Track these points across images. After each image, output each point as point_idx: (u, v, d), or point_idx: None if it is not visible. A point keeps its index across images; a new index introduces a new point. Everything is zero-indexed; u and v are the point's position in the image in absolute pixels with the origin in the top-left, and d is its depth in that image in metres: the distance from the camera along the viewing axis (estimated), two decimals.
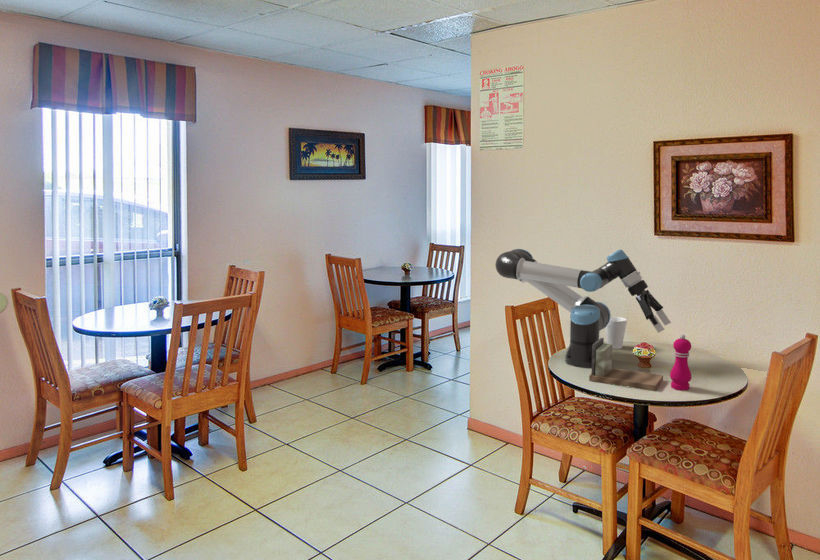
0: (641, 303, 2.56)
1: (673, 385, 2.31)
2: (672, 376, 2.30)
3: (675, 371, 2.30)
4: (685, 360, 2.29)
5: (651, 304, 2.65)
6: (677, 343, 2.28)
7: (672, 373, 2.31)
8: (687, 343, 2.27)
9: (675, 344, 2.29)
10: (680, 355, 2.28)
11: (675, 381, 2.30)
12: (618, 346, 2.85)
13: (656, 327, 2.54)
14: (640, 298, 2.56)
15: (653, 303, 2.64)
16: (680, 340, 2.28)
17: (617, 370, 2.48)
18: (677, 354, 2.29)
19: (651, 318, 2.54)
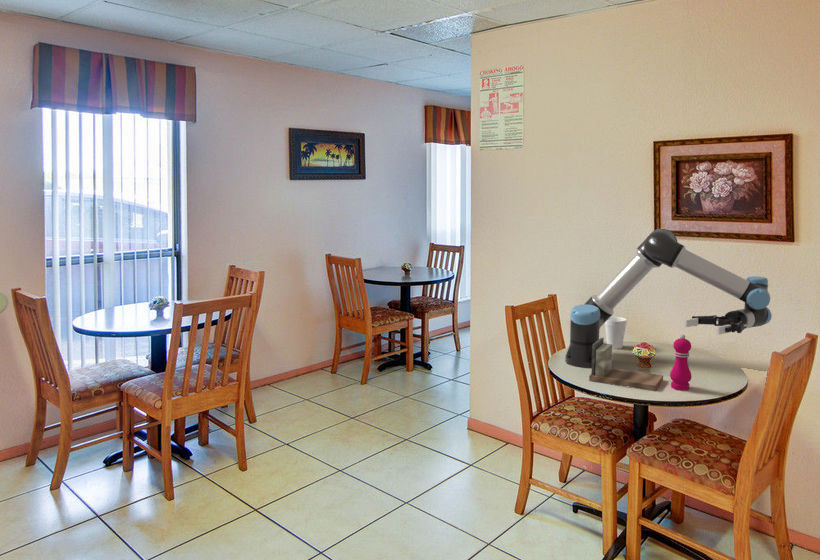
0: (743, 325, 2.33)
1: (673, 385, 2.31)
2: (672, 376, 2.30)
3: (675, 371, 2.30)
4: (685, 360, 2.29)
5: (710, 320, 2.42)
6: (677, 343, 2.28)
7: (672, 373, 2.31)
8: (687, 343, 2.27)
9: (675, 344, 2.29)
10: (680, 355, 2.28)
11: (675, 381, 2.30)
12: (618, 346, 2.85)
13: (723, 328, 2.28)
14: (745, 326, 2.34)
15: (709, 322, 2.42)
16: (680, 340, 2.28)
17: (617, 370, 2.48)
18: (677, 354, 2.29)
19: (733, 329, 2.29)
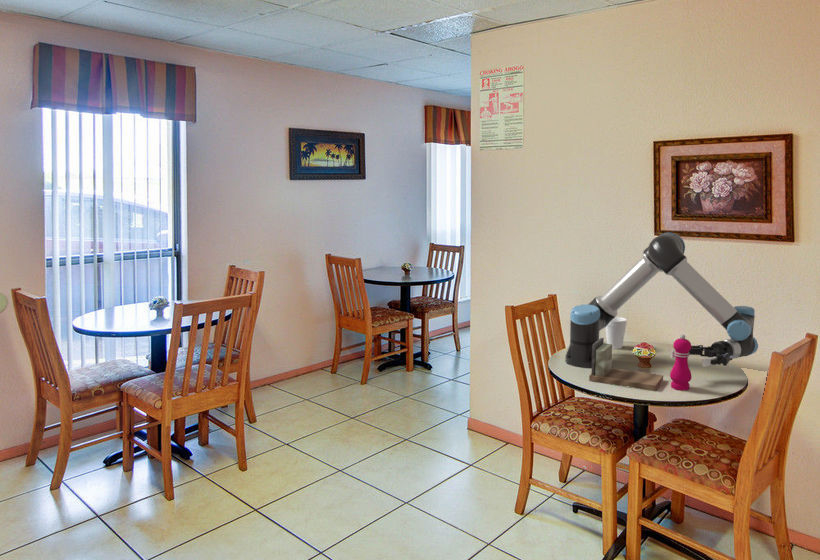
0: (729, 357, 2.31)
1: (673, 385, 2.31)
2: (672, 376, 2.30)
3: (675, 371, 2.30)
4: (685, 360, 2.29)
5: (696, 351, 2.39)
6: (677, 343, 2.28)
7: (672, 373, 2.31)
8: (687, 343, 2.27)
9: (675, 344, 2.29)
10: (680, 355, 2.28)
11: (675, 381, 2.30)
12: (618, 346, 2.85)
13: (708, 360, 2.26)
14: (731, 358, 2.32)
15: (695, 353, 2.40)
16: (680, 340, 2.28)
17: (617, 370, 2.48)
18: (677, 354, 2.29)
19: (719, 361, 2.27)
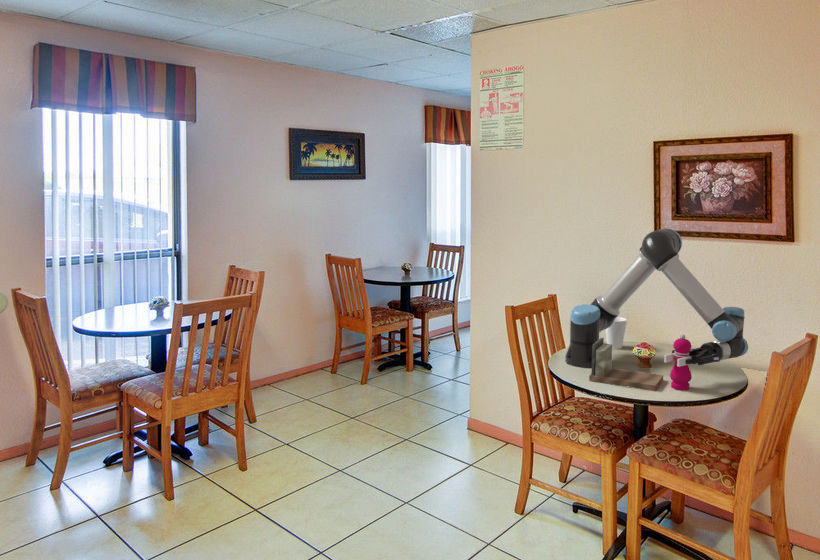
0: (711, 358, 2.29)
1: (673, 385, 2.31)
2: (672, 376, 2.30)
3: (675, 371, 2.30)
4: None
5: None
6: (677, 343, 2.28)
7: (672, 373, 2.31)
8: (687, 343, 2.27)
9: (675, 344, 2.29)
10: (680, 355, 2.28)
11: (675, 381, 2.30)
12: (618, 346, 2.85)
13: (683, 360, 2.26)
14: (715, 359, 2.30)
15: (688, 356, 2.35)
16: (680, 340, 2.28)
17: (617, 370, 2.48)
18: (677, 354, 2.29)
19: (693, 361, 2.27)
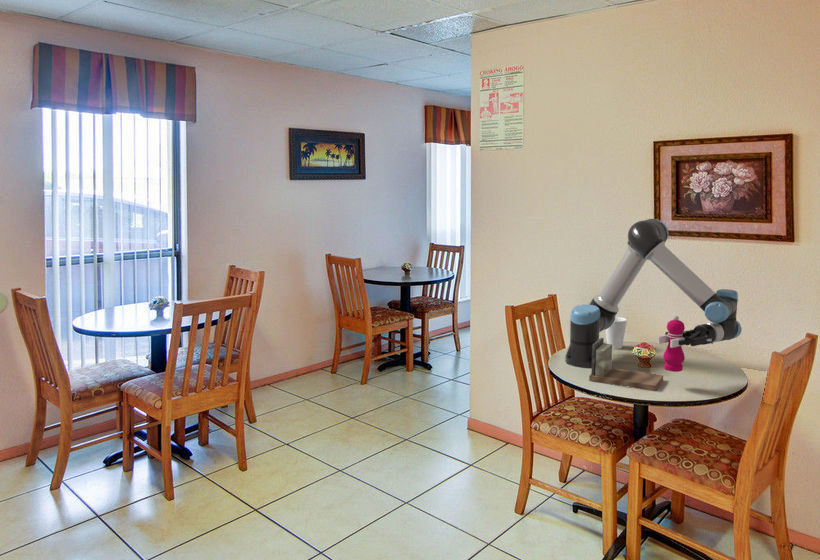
0: (704, 340, 2.29)
1: (666, 366, 2.31)
2: (665, 358, 2.30)
3: (668, 352, 2.30)
4: None
5: (682, 335, 2.35)
6: (670, 324, 2.28)
7: (665, 354, 2.31)
8: (680, 324, 2.27)
9: (668, 325, 2.29)
10: (673, 336, 2.28)
11: (669, 363, 2.30)
12: (618, 346, 2.85)
13: (676, 341, 2.26)
14: (708, 341, 2.30)
15: (681, 338, 2.35)
16: (674, 321, 2.28)
17: (617, 370, 2.48)
18: (670, 335, 2.29)
19: (687, 342, 2.27)
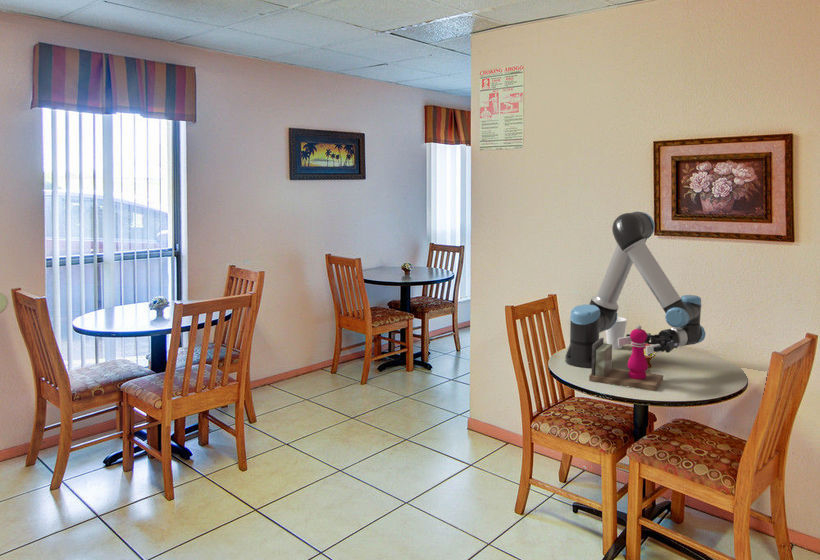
0: (673, 345, 2.35)
1: (630, 374, 2.38)
2: (629, 366, 2.37)
3: (631, 360, 2.37)
4: (641, 350, 2.36)
5: None
6: (633, 333, 2.35)
7: (629, 363, 2.38)
8: (643, 333, 2.34)
9: (631, 334, 2.36)
10: (636, 345, 2.35)
11: (632, 371, 2.37)
12: (618, 346, 2.85)
13: (651, 347, 2.30)
14: (675, 345, 2.37)
15: None
16: (636, 330, 2.35)
17: (617, 370, 2.48)
18: (633, 344, 2.36)
19: (662, 348, 2.31)
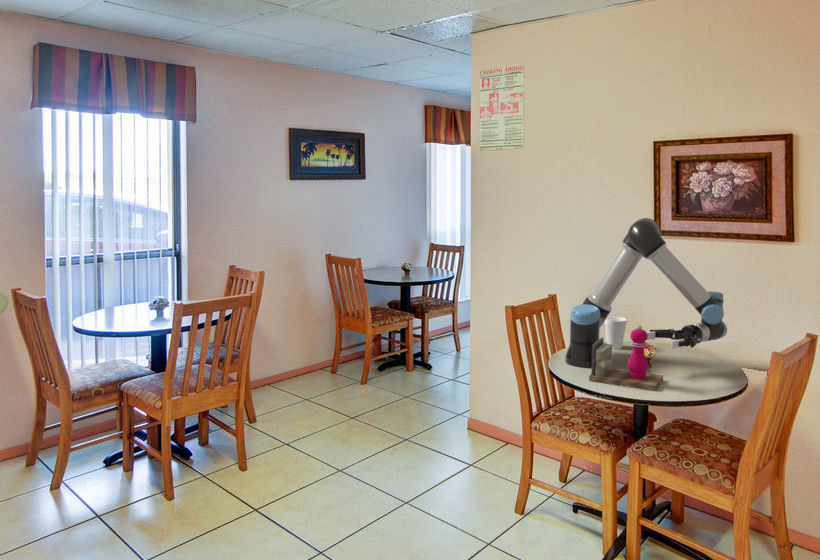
0: (697, 340, 2.41)
1: (630, 374, 2.38)
2: (629, 366, 2.37)
3: (631, 361, 2.37)
4: (641, 350, 2.35)
5: (666, 334, 2.50)
6: (634, 333, 2.35)
7: (629, 363, 2.38)
8: (643, 333, 2.34)
9: (632, 334, 2.36)
10: (636, 345, 2.35)
11: (632, 371, 2.37)
12: (618, 346, 2.85)
13: (676, 342, 2.36)
14: (699, 340, 2.43)
15: (666, 336, 2.50)
16: (637, 331, 2.35)
17: (617, 370, 2.48)
18: (634, 344, 2.36)
19: (686, 343, 2.37)
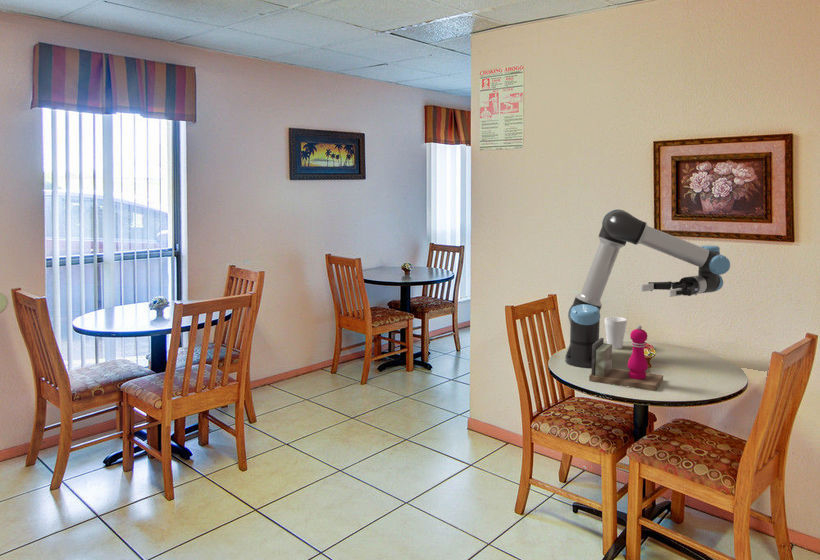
0: (694, 289, 2.49)
1: (630, 374, 2.38)
2: (629, 366, 2.37)
3: (631, 361, 2.37)
4: (641, 350, 2.35)
5: (664, 285, 2.58)
6: (633, 333, 2.35)
7: (629, 363, 2.37)
8: (643, 333, 2.34)
9: (632, 334, 2.36)
10: (636, 345, 2.35)
11: (632, 371, 2.37)
12: (618, 346, 2.85)
13: (674, 291, 2.44)
14: (696, 290, 2.51)
15: (664, 288, 2.58)
16: (637, 331, 2.35)
17: (617, 370, 2.48)
18: (634, 344, 2.36)
19: (684, 292, 2.45)
